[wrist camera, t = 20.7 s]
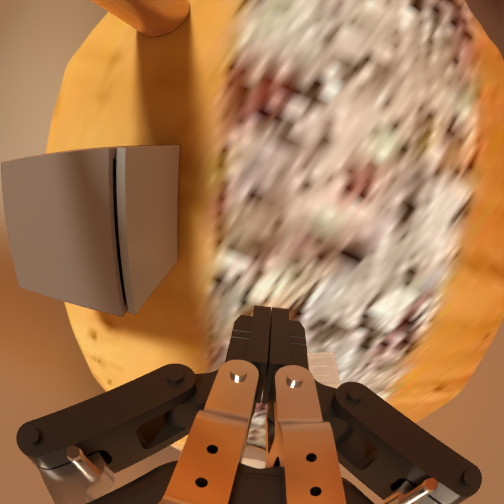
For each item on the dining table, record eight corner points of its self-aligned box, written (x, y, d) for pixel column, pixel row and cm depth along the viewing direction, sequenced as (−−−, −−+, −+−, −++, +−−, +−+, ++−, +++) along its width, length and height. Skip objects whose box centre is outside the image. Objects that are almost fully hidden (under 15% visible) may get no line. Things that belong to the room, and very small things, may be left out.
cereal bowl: (226, 460, 69) (223, 477, 63) (209, 436, 64) (205, 456, 57) (279, 459, 66) (278, 477, 60) (270, 435, 61) (268, 457, 54)
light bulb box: (328, 386, 52) (334, 426, 42) (297, 388, 53) (298, 429, 43) (334, 350, 48) (343, 392, 38) (299, 352, 49) (302, 395, 39)
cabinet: (74, 150, 38) (1, 162, 22) (172, 145, 37) (108, 148, 21) (80, 246, 45) (19, 287, 29) (171, 258, 44) (122, 316, 28)
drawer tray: (77, 149, 38) (10, 160, 23) (180, 145, 37) (125, 147, 22) (83, 247, 44) (28, 285, 30) (178, 260, 43) (135, 314, 29)
